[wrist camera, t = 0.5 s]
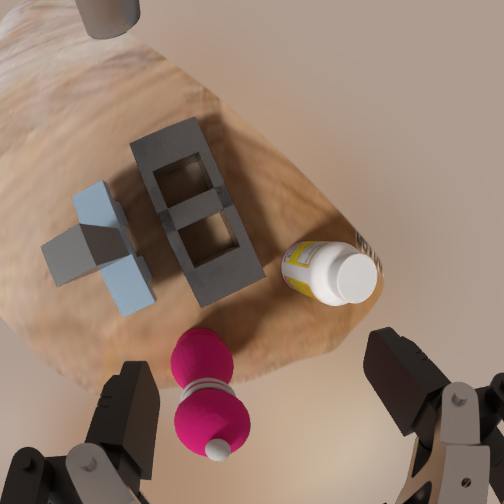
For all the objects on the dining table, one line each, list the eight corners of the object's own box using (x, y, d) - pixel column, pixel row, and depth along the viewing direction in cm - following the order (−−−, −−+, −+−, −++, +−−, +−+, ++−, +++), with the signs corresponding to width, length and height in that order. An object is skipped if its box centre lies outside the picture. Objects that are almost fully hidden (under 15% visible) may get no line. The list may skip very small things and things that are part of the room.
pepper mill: (204, 312, 34) (227, 400, 14) (238, 353, 35) (290, 453, 16) (160, 345, 33) (142, 452, 13) (196, 383, 34) (214, 496, 15)
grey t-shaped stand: (87, 202, 30) (18, 178, 14) (114, 188, 31) (59, 150, 14) (132, 305, 32) (92, 360, 16) (159, 292, 33) (138, 340, 16)
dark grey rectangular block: (135, 153, 31) (129, 143, 27) (193, 129, 32) (195, 116, 28) (199, 300, 34) (201, 308, 30) (257, 272, 35) (266, 276, 31)
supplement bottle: (323, 290, 38) (381, 311, 25) (278, 291, 36) (324, 317, 23) (326, 241, 37) (387, 244, 25) (280, 239, 36) (329, 241, 23)
